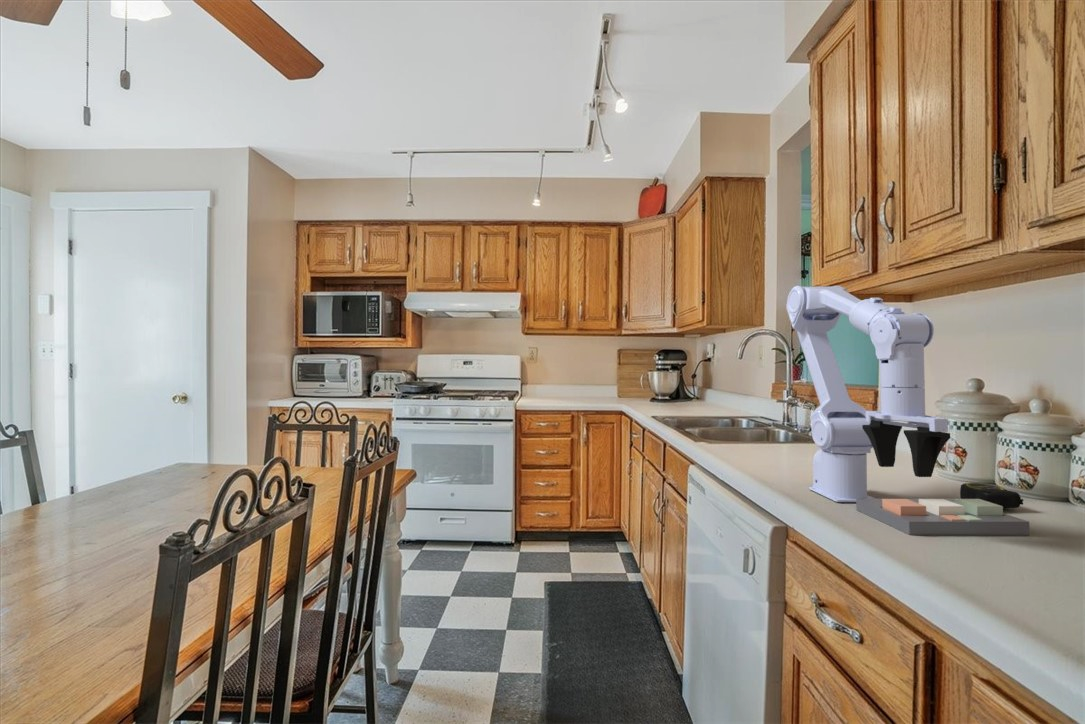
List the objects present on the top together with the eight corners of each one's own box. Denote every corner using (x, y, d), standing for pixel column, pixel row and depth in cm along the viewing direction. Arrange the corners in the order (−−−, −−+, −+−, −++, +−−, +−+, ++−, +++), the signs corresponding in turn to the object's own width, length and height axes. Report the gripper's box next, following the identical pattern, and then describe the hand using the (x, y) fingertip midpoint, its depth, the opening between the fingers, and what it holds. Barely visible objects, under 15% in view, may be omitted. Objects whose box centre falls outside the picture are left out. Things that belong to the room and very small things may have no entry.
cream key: (918, 512, 77) (918, 498, 77) (942, 512, 77) (942, 498, 77) (939, 520, 73) (938, 506, 73) (964, 520, 73) (964, 506, 73)
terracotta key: (882, 512, 77) (882, 498, 77) (906, 512, 77) (906, 498, 77) (900, 520, 73) (900, 506, 73) (926, 520, 73) (926, 506, 73)
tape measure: (985, 513, 80) (985, 492, 80) (949, 502, 87) (949, 482, 87) (1023, 513, 81) (1023, 491, 81) (985, 501, 88) (985, 481, 88)
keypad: (856, 509, 82) (856, 497, 82) (958, 509, 82) (958, 497, 82) (909, 534, 70) (909, 520, 70) (1029, 534, 70) (1029, 520, 70)
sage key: (955, 512, 77) (954, 498, 77) (979, 512, 77) (979, 498, 77) (977, 520, 73) (977, 506, 73) (1002, 520, 73) (1002, 506, 73)
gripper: (847, 386, 83) (849, 462, 82) (913, 388, 68) (915, 481, 68) (887, 386, 83) (888, 462, 82) (961, 388, 68) (963, 481, 68)
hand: (903, 471), depth 75 cm, fingers open, 7 cm apart
